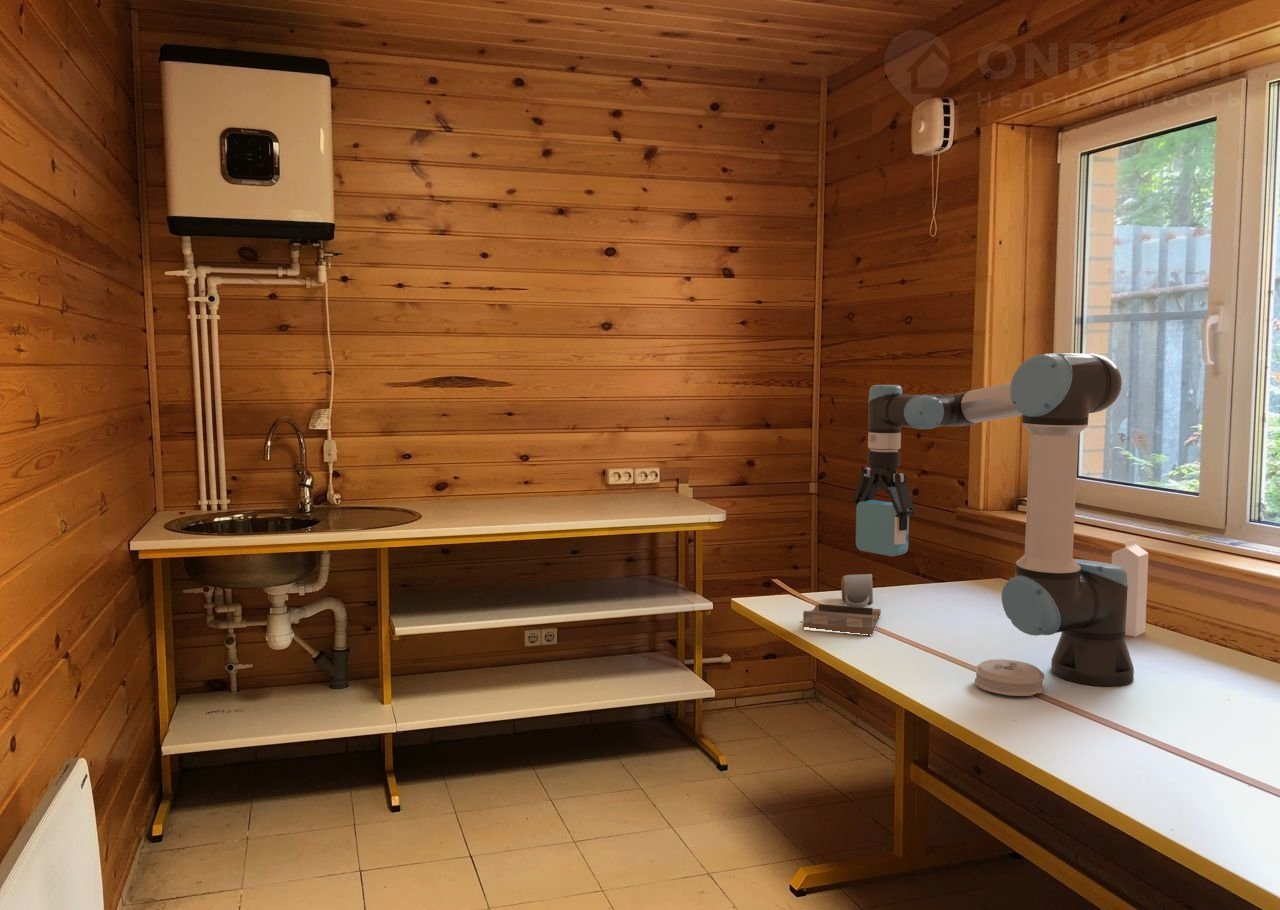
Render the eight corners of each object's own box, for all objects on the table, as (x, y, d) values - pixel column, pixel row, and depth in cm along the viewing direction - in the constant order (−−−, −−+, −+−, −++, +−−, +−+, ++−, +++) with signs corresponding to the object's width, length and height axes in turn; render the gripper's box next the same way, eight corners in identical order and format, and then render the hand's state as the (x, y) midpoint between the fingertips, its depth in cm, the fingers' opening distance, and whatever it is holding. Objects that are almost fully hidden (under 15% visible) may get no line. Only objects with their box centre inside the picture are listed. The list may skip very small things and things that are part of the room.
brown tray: (871, 636, 223) (872, 617, 222) (802, 630, 228) (803, 612, 227) (880, 615, 242) (880, 597, 241) (816, 610, 247) (817, 592, 247)
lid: (960, 683, 191) (961, 659, 190) (1011, 675, 195) (1012, 651, 195) (1005, 704, 179) (1006, 678, 178) (1058, 695, 183) (1059, 670, 183)
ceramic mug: (841, 598, 259) (841, 570, 258) (872, 599, 258) (873, 571, 257) (840, 608, 249) (841, 579, 248) (873, 610, 247) (873, 580, 246)
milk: (1145, 632, 225) (1150, 539, 222) (1135, 637, 221) (1140, 542, 218) (1118, 627, 229) (1122, 535, 227) (1107, 632, 225) (1112, 539, 223)
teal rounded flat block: (908, 554, 227) (909, 504, 226) (897, 557, 224) (898, 506, 223) (866, 547, 236) (867, 499, 235) (855, 549, 233) (856, 501, 232)
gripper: (839, 446, 237) (838, 531, 239) (905, 455, 215) (902, 549, 217) (864, 444, 240) (862, 529, 242) (932, 454, 218) (929, 547, 220)
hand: (881, 539), depth 230 cm, fingers closed on teal rounded flat block, 13 cm apart
